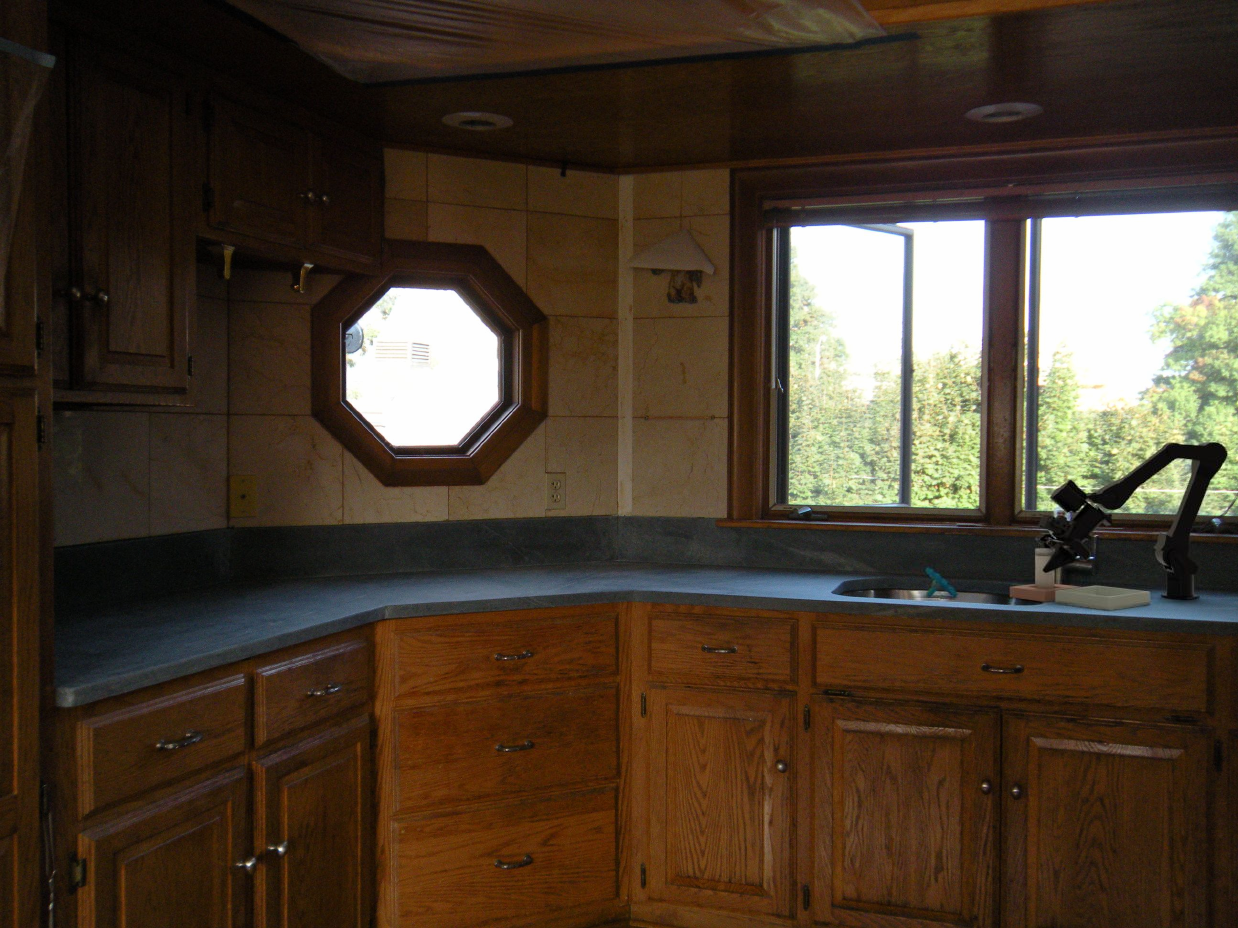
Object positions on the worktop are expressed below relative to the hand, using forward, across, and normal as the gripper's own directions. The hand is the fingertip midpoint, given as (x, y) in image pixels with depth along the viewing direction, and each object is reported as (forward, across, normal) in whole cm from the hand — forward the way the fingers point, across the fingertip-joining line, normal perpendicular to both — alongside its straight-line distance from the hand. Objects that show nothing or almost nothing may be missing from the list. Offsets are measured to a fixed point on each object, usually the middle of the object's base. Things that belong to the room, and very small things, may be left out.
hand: (1039, 570), depth 259 cm
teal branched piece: (+22, -4, -12) cm, 25 cm away
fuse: (+4, 0, +6) cm, 7 cm away
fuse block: (+4, 0, +6) cm, 7 cm away
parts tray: (-2, +13, +11) cm, 17 cm away
